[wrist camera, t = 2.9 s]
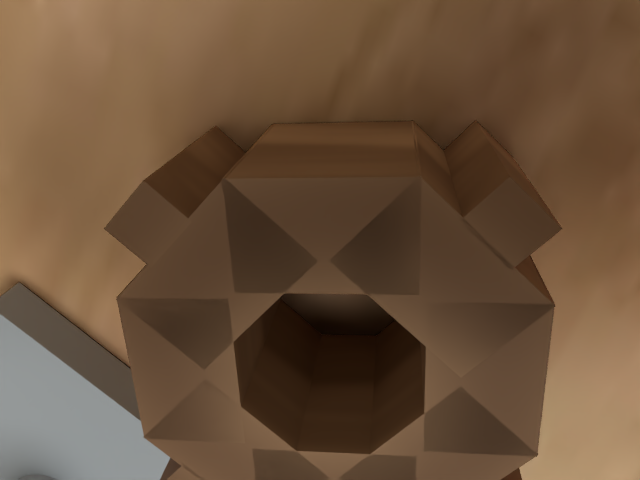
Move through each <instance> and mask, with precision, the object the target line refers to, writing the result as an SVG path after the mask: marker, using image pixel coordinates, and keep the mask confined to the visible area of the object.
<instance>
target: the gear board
mask: <svg viewBox="0 0 640 480" xmlns="http://www.w3.org/2000/svg"><path fill="white" fill-rule="evenodd" d="M169 460H170V457H169V456H168V455H166V454H165V453H164V452H162V451H161V450H160V449H158V448H157V447H156V446H154V445H153V444H152V443H150V442H149V441H148V440H146V439H144V434H143V429H142V424H141V419H140V414H139V409H138V404H137V399H136V394H135V389H134V383H133V378H132V373H131V369H130V368H128V367H127V366H126V365H125V364H123V363H122V362H121V361H119V360H118V359H117V358H116V357H114V356H113V355H112V354H110V353H109V352H108V351H107V350H105V349H104V348H103V347H102V346H100V345H99V344H98V343H96V342H95V341H94V340H93V339H91V338H90V337H89V336H87V335H86V334H85V333H84V332H82V331H81V330H80V329H78V328H77V327H76V326H75V325H73V324H72V323H71V322H69V321H68V320H67V319H66V318H64V317H63V316H62V315H60V314H59V313H58V312H57V311H55V310H54V309H53V308H51V307H50V306H49V305H48V304H46V303H45V302H44V301H42V300H41V299H40V298H39V297H37V296H36V295H35V294H34V293H32V292H31V291H30V290H28V289H27V288H26V287H25V286H23V285H22V284H21V283H17V284H16V285H15V286H13V287H12V288H11V289H10V290H8V291H7V292H6V293H4V294H3V295H2V296H1V297H0V480H160V478H161V476H162V474H163V472H164V470H165V468H166V466H167V464H168V462H169Z"/></svg>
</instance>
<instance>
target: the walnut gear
mask: <svg viewBox="0 0 640 480" xmlns="http://www.w3.org/2000/svg"><path fill="white" fill-rule="evenodd" d="M104 229H105V230H106V231H107V232H109V233H110V234H111V235H112V236H113V237H115V238H116V239H117V240H118V241H119V242H121V243H122V244H123V245H124V246H126V247H127V248H128V249H129V250H130V251H132V252H133V253H134V254H135V255H136V256H138V257H139V258H140V259H141V260H142V261H144V262H145V263H146V264H147V265H146V266H145V267H144V268H143V269H142V270H141V271H140V272H139V273H138V274H137V276H136V277H135V278H134V279H133V280H132V281H131V282H130V283H129V284H128V285H127V287H126V288H125V289H124V290H123V291H122V292H121V293H120V294H119V295H118V296H117V299H116V300H117V302H118V307H119V312H120V317H121V322H122V327H123V333H124V338H125V343H126V348H127V353H128V358H129V363H130V368H131V373H132V378H133V383H134V389H135V394H136V399H137V404H138V409H139V414H140V419H141V424H142V429H143V434H144V439H146V440H148V441H149V442H150V443H152V444H153V445H154V446H156V447H157V448H158V449H160V450H161V451H162V452H164V453H165V454H166V455H168V456H169V457H170V460H169V462H168V464H167V466H166V468H165V470H164V472H163V474H162V476H161V478H160V480H522V478H521V474H520V470H519V467H520V466H522V465H523V464H525V463H527V462H528V461H530V460H531V459H533V458H534V457H537V455H538V453H537V452H538V443H539V435H540V426H541V417H542V409H543V400H544V392H545V383H546V374H547V366H548V357H549V348H550V340H551V331H552V323H553V314H554V307H555V304H554V302H553V300H552V298H551V296H550V294H549V292H548V290H547V288H546V286H545V284H544V282H543V280H542V278H541V276H540V274H539V272H538V270H537V268H536V266H535V264H534V262H533V260H532V258H531V256H530V254H532V253H533V252H534V251H535V250H537V249H538V248H539V247H540V246H542V245H543V244H544V243H545V242H546V241H548V240H549V239H550V238H551V237H553V236H554V235H555V234H556V233H558V232H559V231H560V230H561V229H562V227H561V226H560V224H559V223H558V221H557V220H556V219H555V217H554V216H553V214H552V213H551V211H550V210H549V209H548V207H547V206H546V204H545V203H544V201H543V200H542V198H541V197H540V196H539V194H538V193H537V191H536V190H535V188H534V187H533V185H532V184H531V183H530V181H529V180H528V178H527V177H526V175H525V174H524V173H523V171H522V170H521V168H520V167H519V165H518V164H517V162H516V161H515V160H514V158H513V157H512V156H511V155H510V154H509V153H508V152H507V151H506V150H505V149H504V148H503V147H502V146H501V145H500V144H499V143H498V142H497V141H496V140H495V139H494V138H493V137H492V136H491V135H490V134H489V133H488V132H487V131H486V130H485V129H484V128H483V127H482V126H481V125H480V124H479V123H478V122H477V121H476V120H475V121H474V122H473V123H472V124H471V125H470V126H469V127H468V128H467V129H466V130H465V131H464V132H463V133H462V134H461V135H460V136H459V137H458V138H456V139H455V140H454V141H453V142H452V143H451V144H450V145H449V146H448V147H447V148H446V149H445V150H444V151H443V150H442V149H441V148H440V147H439V146H438V145H437V144H436V143H435V142H434V141H433V140H432V139H431V138H430V137H429V136H428V135H427V134H426V133H425V132H424V131H423V130H422V129H421V128H420V127H419V126H418V125H417V124H416V123H415V122H414V121H413V120H412V121H387V122H342V123H297V124H272V125H271V126H270V127H269V128H268V129H267V130H266V131H265V133H264V134H263V135H262V136H261V137H260V138H259V139H258V140H257V141H256V142H255V143H254V144H253V146H252V147H251V148H250V149H249V150H248V151H247V152H246V153H245V152H244V151H243V150H242V149H241V148H240V147H238V146H237V145H236V144H235V143H234V142H233V141H232V140H231V139H230V138H228V137H227V136H226V135H225V134H224V133H223V132H222V131H221V130H220V129H219V128H217V127H216V126H215V127H214V128H212V129H211V130H210V131H208V132H207V133H206V134H204V135H203V136H202V137H200V138H199V139H198V140H196V141H195V142H194V143H192V144H191V145H190V146H188V147H187V148H186V149H184V150H183V151H182V152H180V153H179V154H178V155H176V156H175V157H174V158H173V159H171V160H170V161H169V162H167V163H166V164H165V165H163V166H162V167H161V168H159V169H158V170H157V171H155V172H154V173H153V174H151V175H150V176H149V177H147V178H146V179H145V180H143V182H142V183H141V184H140V185H139V187H138V188H137V189H136V190H135V191H134V193H133V194H132V195H131V196H130V197H129V199H128V200H127V201H126V202H125V204H124V205H123V206H122V207H121V208H120V210H119V211H118V212H117V213H116V215H115V216H114V217H113V218H112V219H111V221H110V222H109V223H108V224H107V225H106V227H105V228H104ZM284 293H300V294H367V295H368V296H369V297H370V298H372V299H373V300H374V301H375V302H376V303H377V304H378V305H379V306H381V307H382V308H383V309H384V310H385V311H386V312H387V313H388V314H390V315H391V316H392V317H393V318H394V319H395V321H393V322H392V323H391V324H390V325H389V326H387V327H386V328H385V329H384V330H383V331H382V332H380V333H379V334H378V335H377V336H369V335H324V334H320V333H319V332H318V331H317V330H316V329H315V328H313V327H312V326H311V325H310V324H309V323H308V322H306V321H305V320H304V319H303V318H302V317H301V316H299V315H298V314H297V313H296V312H295V311H294V310H292V309H291V308H290V307H289V306H288V305H287V304H285V303H284V302H283V301H282V300H281V296H282V295H283V294H284Z"/></svg>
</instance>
